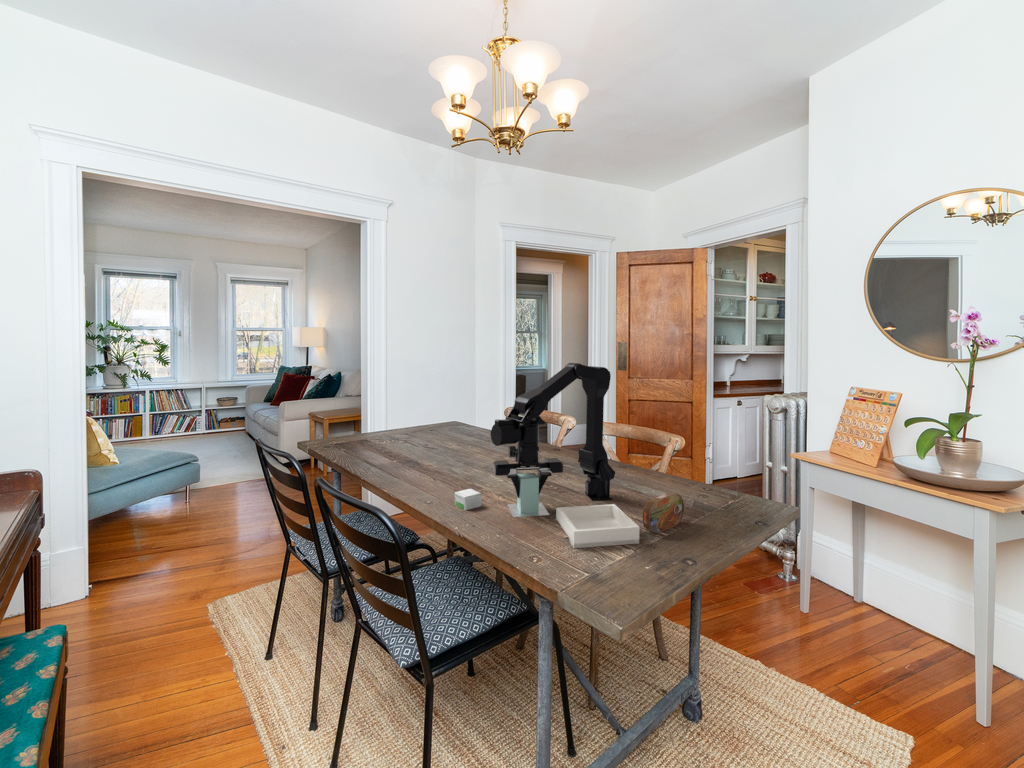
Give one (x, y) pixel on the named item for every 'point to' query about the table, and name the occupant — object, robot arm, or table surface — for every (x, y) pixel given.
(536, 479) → the block
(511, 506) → the stud plate
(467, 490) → the small box
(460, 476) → the table surface
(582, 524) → the bin
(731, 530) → the table surface
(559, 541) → the table surface
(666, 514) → the tin
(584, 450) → the robot arm
